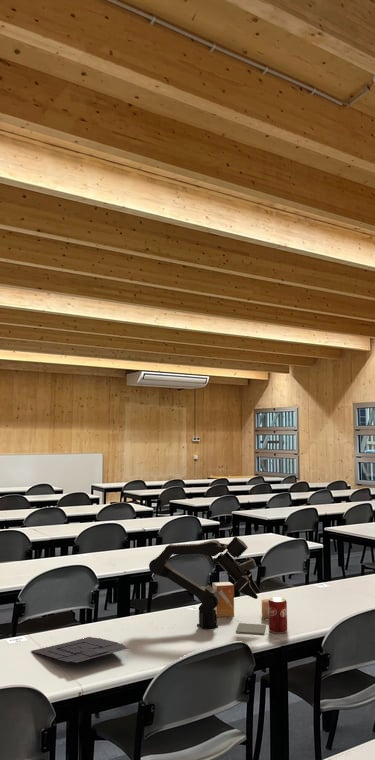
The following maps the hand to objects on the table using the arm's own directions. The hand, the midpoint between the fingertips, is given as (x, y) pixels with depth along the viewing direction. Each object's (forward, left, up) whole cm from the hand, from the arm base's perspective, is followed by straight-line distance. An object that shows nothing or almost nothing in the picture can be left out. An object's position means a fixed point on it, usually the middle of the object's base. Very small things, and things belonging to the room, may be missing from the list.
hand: (258, 595), depth 222 cm
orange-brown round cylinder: (+14, +11, -13) cm, 22 cm away
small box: (0, +25, -13) cm, 28 cm away
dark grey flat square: (-70, +9, -14) cm, 72 cm away
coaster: (-2, +2, -13) cm, 14 cm away
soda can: (+6, -5, -13) cm, 15 cm away
